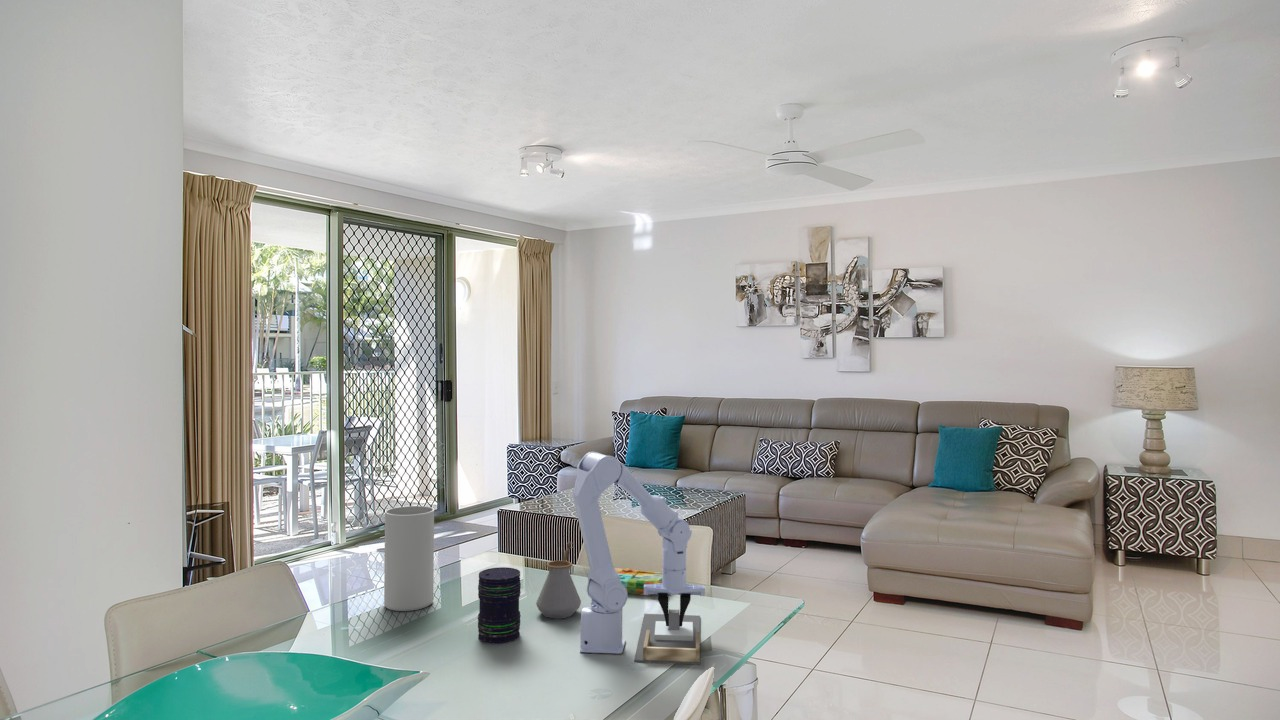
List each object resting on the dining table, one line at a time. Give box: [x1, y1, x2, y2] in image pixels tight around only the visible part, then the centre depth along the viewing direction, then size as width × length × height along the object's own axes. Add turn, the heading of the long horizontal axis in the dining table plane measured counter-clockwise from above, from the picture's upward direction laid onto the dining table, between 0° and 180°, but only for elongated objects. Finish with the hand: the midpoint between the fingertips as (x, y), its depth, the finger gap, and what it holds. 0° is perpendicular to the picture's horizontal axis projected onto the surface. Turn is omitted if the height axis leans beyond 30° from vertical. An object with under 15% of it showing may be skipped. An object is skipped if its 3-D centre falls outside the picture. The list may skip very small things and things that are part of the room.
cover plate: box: [655, 608, 693, 641], centre depth 175 cm, size 9×9×5 cm
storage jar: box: [477, 566, 522, 645], centre depth 173 cm, size 10×10×15 cm
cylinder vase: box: [383, 505, 435, 612], centre depth 196 cm, size 12×12×25 cm
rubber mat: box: [633, 613, 701, 666], centre depth 173 cm, size 14×30×1 cm, turn 175°
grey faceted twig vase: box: [535, 541, 582, 620], centre depth 194 cm, size 21×12×15 cm, turn 174°
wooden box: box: [643, 630, 701, 662], centre depth 164 cm, size 12×11×3 cm
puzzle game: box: [614, 567, 662, 596], centre depth 211 cm, size 12×5×20 cm
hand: (674, 624), depth 175 cm, fingers closed on cover plate, 2 cm apart
